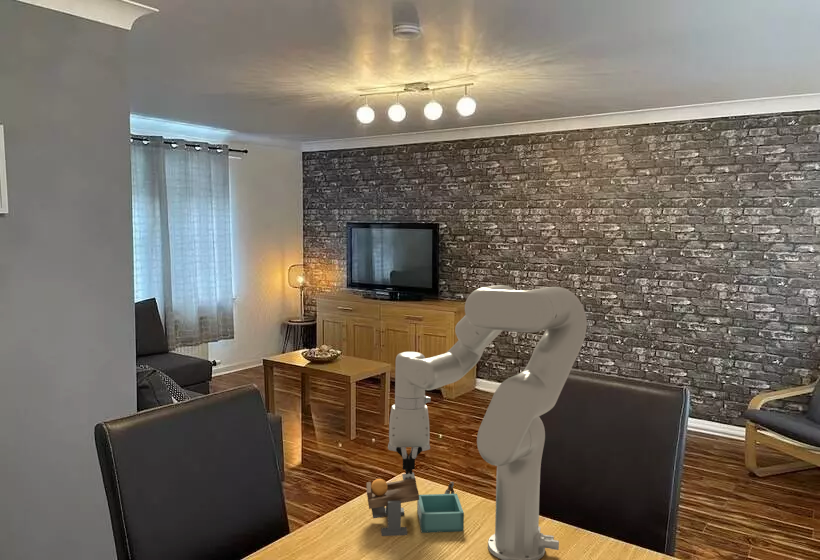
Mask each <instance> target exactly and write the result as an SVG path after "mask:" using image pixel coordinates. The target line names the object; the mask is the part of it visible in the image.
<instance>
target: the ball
mask: <svg viewBox="0 0 820 560" xmlns="http://www.w3.org/2000/svg"><path fill="white" fill-rule="evenodd" d="M387 483H388V482H387V481H386V480H385V479H383V478H376V479H375V480H373V481H372V482H371V490H372V492H373V494H374V495H376V496H382V495H384V494H385V493H386V492H387V489H388V486H387Z"/></svg>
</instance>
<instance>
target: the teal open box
mask: <svg viewBox="0 0 820 560" xmlns="http://www.w3.org/2000/svg"><path fill="white" fill-rule="evenodd" d="M416 504H417V506H416V507H417V508H416V509H417V510H416V512H417V513H416V514H417V518H418V523H419V528H420V532H421V534H426V533H451V532H452V533H454V532H456V533H457V532H459V533H460V532H464V530H465V529H464V528H465V527H464V523H465V521H464V519H465V513H464V509H463V507H462V504H461V501H460V499H459V496H458V493H455V494H451V493H450V494H444V493H440V494H439V493H438V494H437V493H434V494H431V493H430V494H428V493H427V494H419V500H416Z"/></svg>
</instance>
